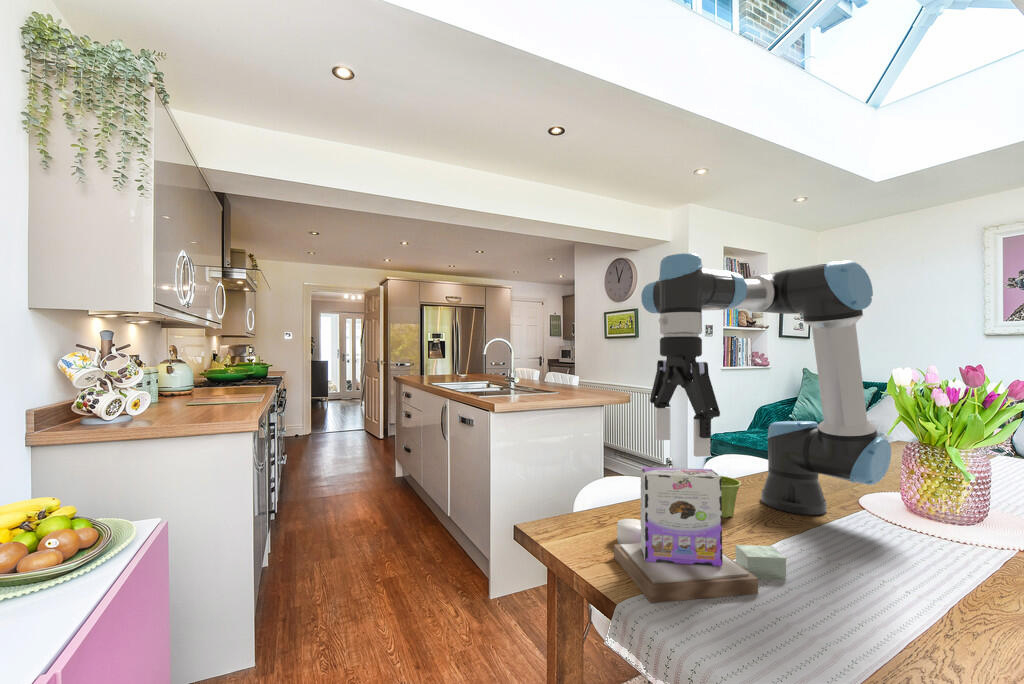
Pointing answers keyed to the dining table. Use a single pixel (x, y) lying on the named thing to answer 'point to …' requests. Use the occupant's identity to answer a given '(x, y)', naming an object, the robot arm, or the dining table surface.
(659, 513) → the candy box
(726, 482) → the plant pot
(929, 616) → the dining table surface
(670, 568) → the picture frame
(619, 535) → the white rounded dome
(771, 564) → the pale green block
